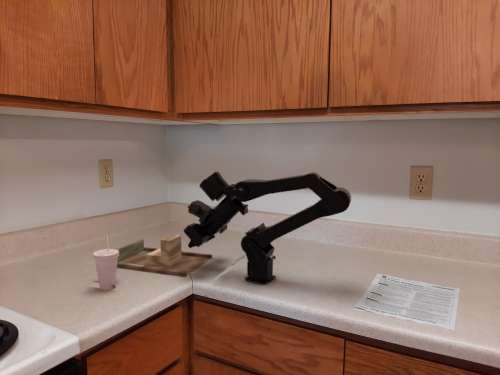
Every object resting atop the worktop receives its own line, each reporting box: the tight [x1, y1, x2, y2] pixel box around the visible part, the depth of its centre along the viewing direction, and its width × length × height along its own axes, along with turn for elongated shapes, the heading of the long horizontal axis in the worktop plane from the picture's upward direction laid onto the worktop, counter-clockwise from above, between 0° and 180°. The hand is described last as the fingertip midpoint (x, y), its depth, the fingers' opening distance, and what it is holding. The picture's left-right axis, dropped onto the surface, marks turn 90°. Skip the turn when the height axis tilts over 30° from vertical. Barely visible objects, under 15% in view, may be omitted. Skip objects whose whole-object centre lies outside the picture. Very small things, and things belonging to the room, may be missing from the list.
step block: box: [146, 234, 182, 267], centre depth 111 cm, size 8×7×8 cm
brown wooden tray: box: [116, 238, 213, 278], centre depth 112 cm, size 26×18×6 cm
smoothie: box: [92, 235, 119, 292], centre depth 95 cm, size 6×6×14 cm
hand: (189, 246), depth 109 cm, fingers closed
